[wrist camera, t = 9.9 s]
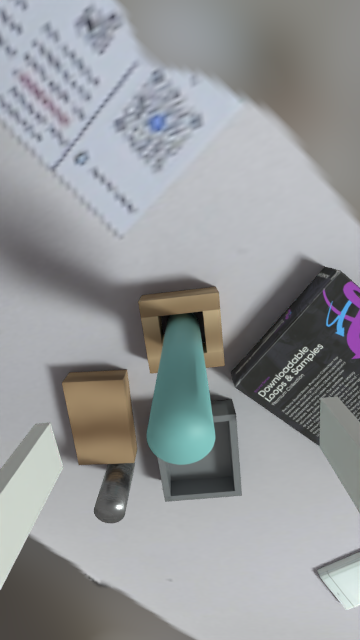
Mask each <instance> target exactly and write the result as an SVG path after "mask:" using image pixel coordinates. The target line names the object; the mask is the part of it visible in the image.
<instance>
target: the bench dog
mask: <svg viewBox="0 0 360 640" xmlns="http://www.w3.org/2000/svg"><path fill="white" fill-rule="evenodd" d="M134 467H135V462H134V463H118V464H108V466H107V469H106V473H105V476H104V479H103V482H102V485H101V488H100V491H99V495H98V498H97V501H96V504H95V507H94V514H95V516H96V517H97V518H98V519H99V520H101V521H102V522H105V523H116V522H119V521H120V520H122V519H123V517H124V515H125V511H126V506H127V501H128V496H129V491H130V486H131V481H132V476H133V472H134Z"/></svg>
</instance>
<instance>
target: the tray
mask: <svg viewBox="0 0 360 640" xmlns="http://www.w3.org/2000/svg"><path fill="white" fill-rule="evenodd" d="M211 408H212V415H213V422H214V429H215V442H214V446H213V448H212V449H211V451H210V452H209V453H208V454H207V455H206V456H205V457H204V458H203V459H201V460H199V461H197V462H194V463H191V464H185V465H178V464H172V463H168V462H166V461H163V460H162V459H160V458H159V457H157V458H158V464H159V469H160V475H161V481H162V486H163V492H164V498H165V502H167V501H179V500H192V499H205V498H217V497H230V496H242V491H241V477H240V463H239V450H238V436H237V422H236V413H235V409H234V405H233V402H232V399H230V400H220V401H211Z"/></svg>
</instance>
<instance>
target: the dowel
mask: <svg viewBox="0 0 360 640" xmlns="http://www.w3.org/2000/svg"><path fill="white" fill-rule="evenodd" d="M147 442H148V445H149V447H150V449H151V451H152V452H153V453H154V454H155V455H156V456H157V457H159V458H160V459H162V460H163V461H166V462H168V463H172V464H178V465H185V464H191V463H194V462H197V461H199V460H201V459H203V458H204V457H205V456H206V455H207V454H208V453H209V452H210V451H211V449H212V448H213V446H214V442H215V429H214V422H213V415H212V408H211V401H210V394H209V388H208V381H207V374H206V367H205V360H204V353H203V346H202V339H201V332H200V326H199V321H198V318H197V317H196V316H195V315H194V314H193V313H183V314H174V315H171V316H170V317H169V318H168V321H167V325H166V331H165V336H164V342H163V347H162V352H161V358H160V363H159V369H158V374H157V380H156V385H155V390H154V396H153V401H152V407H151V412H150V418H149V423H148V428H147Z"/></svg>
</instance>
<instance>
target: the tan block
mask: <svg viewBox="0 0 360 640" xmlns="http://www.w3.org/2000/svg"><path fill="white" fill-rule="evenodd" d="M62 386H63V391H64V395H65V400H66V405H67V410H68V415H69V420H70V424H71V429H72V434H73V439H74V444H75V449H76V453H77V458H78V463H79V465H91V464H118V463H134V462H135V457H136V452H137V443H136V435H135V428H134V420H133V412H132V404H131V397H130V389H129V381H128V374H127V370H112V371H91V372H71V373H69V374H68V375H67V377H66V378H65V379H64V381H63V382H62Z"/></svg>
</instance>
